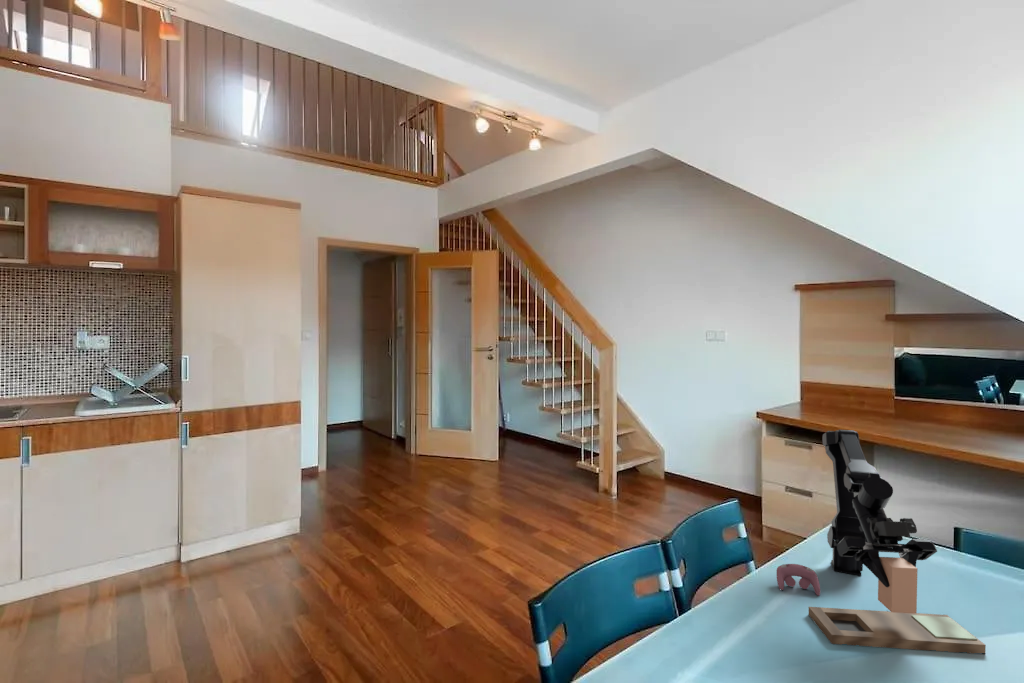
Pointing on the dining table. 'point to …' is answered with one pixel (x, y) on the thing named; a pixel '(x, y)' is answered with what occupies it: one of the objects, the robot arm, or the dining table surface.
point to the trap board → (894, 630)
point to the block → (898, 585)
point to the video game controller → (806, 573)
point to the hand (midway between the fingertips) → (901, 587)
